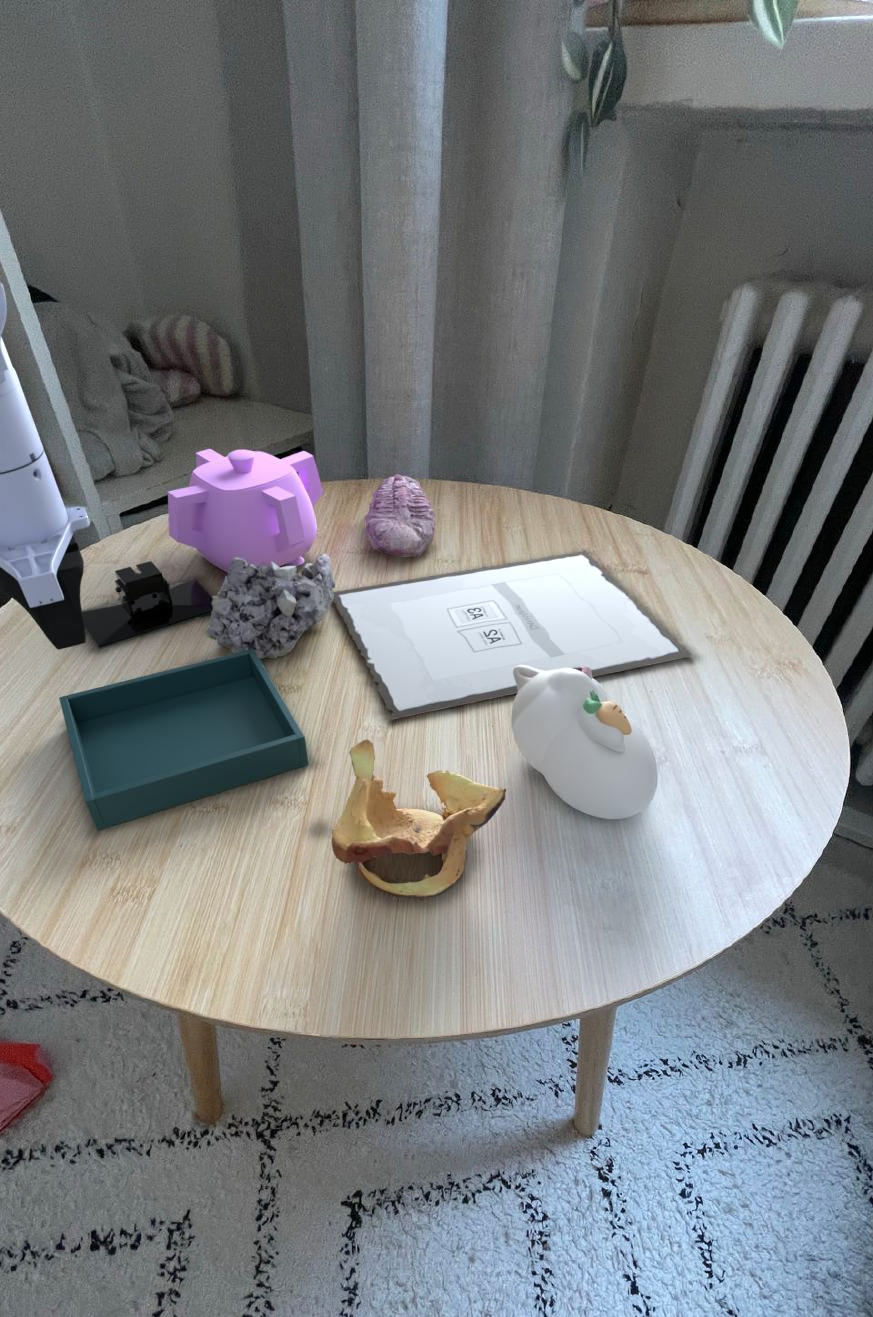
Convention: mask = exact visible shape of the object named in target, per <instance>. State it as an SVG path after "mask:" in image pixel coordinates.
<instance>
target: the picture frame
mask: <svg viewBox="0 0 873 1317" xmlns="http://www.w3.org/2000/svg"><path fill="white" fill-rule="evenodd" d="M333 592H334V598H333V600H332V602H333V604H334V605H335V608H336V610H337V611H338V613H339V616H341V618H342V619H343V623H345V625H346V629H347V630H348V634H349V637H352V641H353V642H354V643H355V646H356V647H357V650H358V651H359V652H360V653H359V656H361V657H362V658H364V660H365V662H366V663H365V666H364V667H366V668H367V669H368V670H369V671H370V675H371V676H372V677H373V679H372V682H373V683H375V684H378V686H377V689H378V694H379V696H381V699H382V700H383V702H384V705H385V707H386V710H388V711H391V712H392V714H391V715H390V717H391V720H396V719H401V718H405V717H410V716H414V715H420V714H424V713H429V712H435V711H438V710H443V709H447V708H452V707H457V706H461V705H466V704H472V703H476V702H477V703H478V702H481V701H485V700H491V699H496V698H500V697H505V696H509V695H514V694H517V693H518V690H517V685H516V682H515V679H514V675H513V670H514V668H515V667H516V666H517V665H527V666H530V667H532V668H535V669H538V670H542V671H550V670H556V669H561V668H573V667H576V666H578V667H581V668H583V667H584V666H588V667H589V668H590V669H591V672H592V678H595V677H598V676H603V675H609V674H613V673H618V672H622V671H627V670H632V669H636V668H642V667H646V666H650V665H656V664H660V663H665V662H669V661H674V660H678V659H679V660H680V659H684V658H689V657H694V655H693V654H692V653H691V652H690V651H689V650H688V649H687V648H686V647H685V646H683V645H682V644H681V643H680V642H679V641H678V640H677V638H675V636H673V635H672V634H671V632H670V631H669V630H668V629H667V628H665V627H664V625H662V624H661V623H660V622H659V621H658V620H657V619H656V618H655V617H653V615H652V614H651V613H650V612H649V611H647V610H646V608H645V607H644V606H643V605H642V604H640V603H638V600H637V599H636V598H634V597H633V595H630V594H629V591H627V590H626V589H625V588H624V587H623V586H622V585H621V584H619V582H618V581H617V580H616V579H615V578H614V577H613V576H612V575H611V574H610V573H609V572H608V571H606V570H605V569H604V567H603V566H601V564H599V562H597V561H596V559H594V558H593V557H592V556H591V555H590V554H589V552H587V551H586V550H584V551H576V552H569V553H564V554H559V555H558V554H557V555H552V556H547V557H546V556H545V557H541V558H533V559H528V560H522V561H515V562H509V563H503V564H497V565H491V566H485V567H479V568H472V569H467V570H466V569H465V570H460V571H454V572H453V571H452V572H448V573H441V574H435V575H429V576H424V577H418V578H417V577H416V578H410V579H403V580H398V581H391V582H388V583H379V584H376V585H375V584H374V585H368V586H367V585H366V586H361V587H357V588H356V587H355V588H349V589H344V590H338V591H337V590H336V591H333Z"/></svg>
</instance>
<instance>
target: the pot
mask: <svg viewBox="0 0 873 1317" xmlns="http://www.w3.org/2000/svg"><path fill="white" fill-rule="evenodd" d="M195 461H196V463H195V464H196V468H195V469H194V470H193V471H192V472H191V475H190V478H189V483H188V486H186V487H183V488H178V489H173V490H168V491H167V507H168V508H167V510H168V536H169V537H170V538H172V539H173V540H174V541H176V542H177V543H179V544H182V545H185V546H188V547H191V548H194V549H196V551H197V552H198V553H199V554H200V555H201V556H202V557H203V558H204V559H206V561H208V562H209V563H210V564H212V565H214V566H215V567H217V568H219V569H220V570H222V571H224V572H226V573H228V571H229V569H230V567H231V562H232V559H233V558H235V557H238V558H242V559H244V560H245V561H246V562H248V563H249V564H254V565H258V566H259V565H260V564H263V565H264V566H268V565H269V564H270V562H273V563H275V564H276V565H277V566H279V567H281V566H284V565H285V566H297V567H298V566H301V565H303V564H304V563H305V559H304V557H303V555H305V554H306V553H307V552H309V551H310V550H311V548H312V546H313V545H314V543H315V540H316V537H317V535H318V527H317V526H318V525H317V520H316V514H315V511H314V508H313V507H314V506H315V505H316V503H317V502H318V501H319V499H320V498H321V497H322V496H323V494H324V488H323V486H322V482H321V479H320V475H319V471H318V467H317V463H316V460H315V456H314V455H313V454H311V453H309V452H307V451H305V450H302V451H299V452H297V453H294V454H291V455H289V456H285V457H283V458H281V459H280V458H278V457H276V456H274V455H272V454H270V453H267V452H264V451H260V450H255V451H252V450H249V449H235V450H233V451H231V452H229V453H228V454H227V456H223V455H222V454H220V453H218V452H217V451H215V450H213V449H212V448H207V449H204V450H200V451H197V452H195Z"/></svg>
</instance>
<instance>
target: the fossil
mask: <svg viewBox="0 0 873 1317" xmlns="http://www.w3.org/2000/svg"><path fill="white" fill-rule="evenodd" d="M368 505H369V507H368V512H367V514H366V515H364V521H365V527H364V530H363V531H364V535H365V539H366V540H368V541H369V545H370V546H371V547H372V549H373V550H374V551H378V552H381V553H384V554H385V553H386V554H389V555H393V556H395V557H399V558H406V557H407V558H409V557H420V556H421V555H422V554H423V552H424V551H425V550H426V549H427V548H428V547H429V546H430V545H431V543H432V542H433V541H434V536H435V529H436V528H435V526H436V521H435V519H434V518H435V516H436V514H435V512H434V510H433V508H432V506H431V502H430V499H429V498H428V496H426V493H425V491H424V489H423V487H422V485H421V484H420V482H419V481H417V480H415V479H414V478H412V477H410V476H406V475H403V476H402V475H401V474H398V473H397V474H395V475H394V476H389V477H388V478H386V479H385V480H383V481H382V482H381V483H379V485H378V486H377V488H376V489H375V490H373V492H372V498H371V500H370V501H369V504H368Z"/></svg>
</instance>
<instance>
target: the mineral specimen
mask: <svg viewBox="0 0 873 1317" xmlns="http://www.w3.org/2000/svg"><path fill="white" fill-rule="evenodd" d="M331 563H332V562H331V558H330V556H328V554H327V553H326V552H325V553H324V552H323V553H321V554H319V555H317V556H316V557H315V562H314V563H311V562H307V563H306V564H305V565H304V566H303V567H302V568H301V571H300V574H299V573H298V572H297V568H298V566H287V565H285V566H282V567H281V566H277V565H276V564H275V563H273V562H270V564H269V565H268V566H264V565H263V564H260V565H259V566H258V565H254V564H249V563H248V562H246V561H245V560H244V559H242V558H238V557H235V558H233V559H232V562H231V567H230V569H229V571H228V572H227V575H225V577H224V581H223V582H222V583H223V584H222V586H221V587H220V588H219V592H217V594H216V595H211V597H212V599H213V600H212V602H211V603H212V606H213V610H212V613H211V615H210V620H209V621H210V622H209V626H208V628H206V630H204V631H203V633H205V636H207V637H208V638H209V639H212V640H215V641H216V643H217V644H218V645H220V646H223V647H226V648H228V649H229V650H230V651H232V652H233V654H234V653H238V652H242V651H246V650H250V649H254V651H255V652H256V654H257V656H258V657H259V659H260V660H263V659H265V658H269V659H270V658H271V659H277V658H278V657H284V656H286V655H288V654H289V653H290V652H292V651H293V650H294V649H295V646H296V644H297V642H298V641H299V639H300V638H301V636H302V635H303V634H304V632H305V631H306V630H307V629H313V628H315V626H316V625H317V623H319V622H320V621H322V620H323V619H324V618H325V616H326V614H327V613H328V611H329V610H330V608H331V606H332V604H333V599H334V592H335V591H333V589H335V588H336V583H335V580H334V573H333V570H332V569H331V568H332V565H331Z"/></svg>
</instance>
